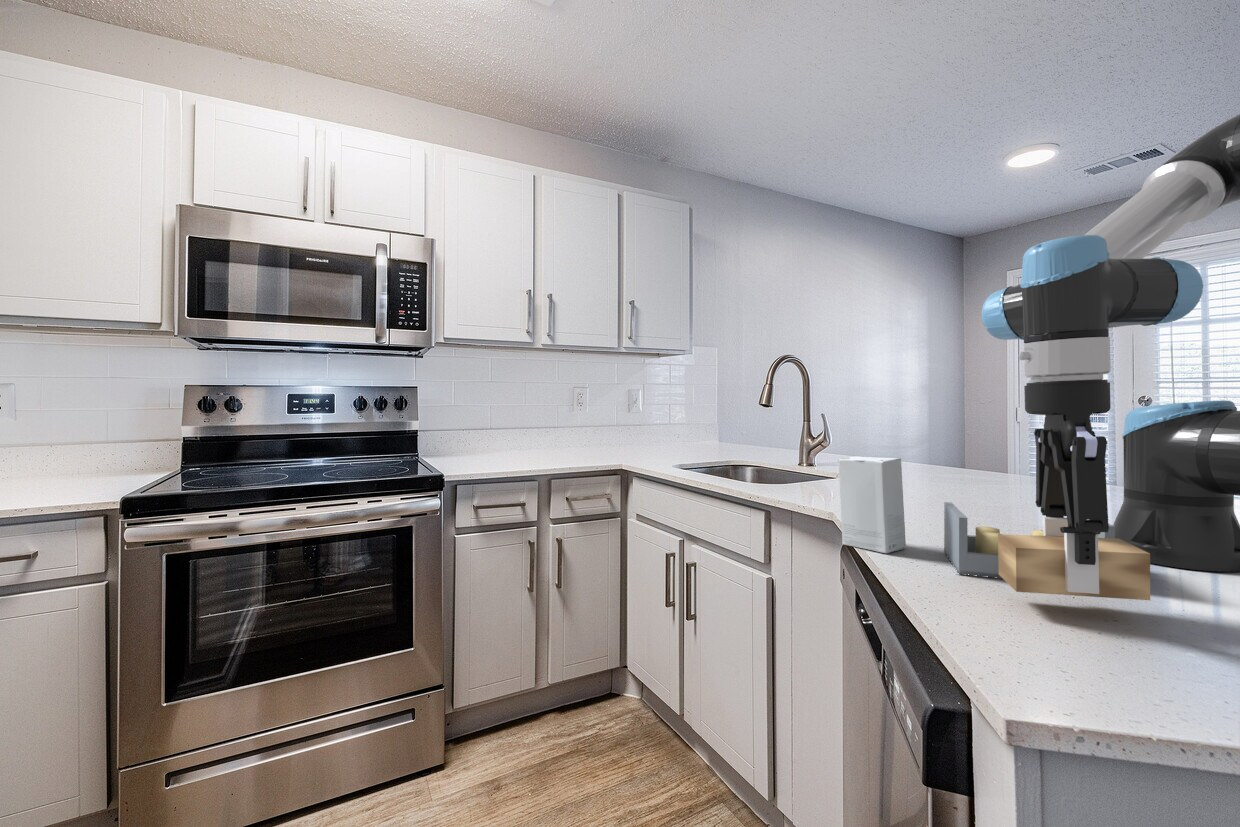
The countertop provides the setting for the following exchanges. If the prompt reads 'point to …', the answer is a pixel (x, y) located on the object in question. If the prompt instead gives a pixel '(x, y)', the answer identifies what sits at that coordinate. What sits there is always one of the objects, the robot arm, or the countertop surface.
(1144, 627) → the countertop surface
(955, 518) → the peg frame
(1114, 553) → the wooden block
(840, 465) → the skincare box
